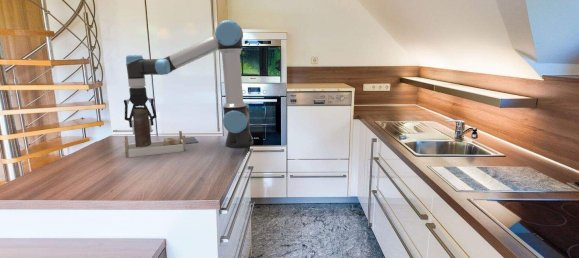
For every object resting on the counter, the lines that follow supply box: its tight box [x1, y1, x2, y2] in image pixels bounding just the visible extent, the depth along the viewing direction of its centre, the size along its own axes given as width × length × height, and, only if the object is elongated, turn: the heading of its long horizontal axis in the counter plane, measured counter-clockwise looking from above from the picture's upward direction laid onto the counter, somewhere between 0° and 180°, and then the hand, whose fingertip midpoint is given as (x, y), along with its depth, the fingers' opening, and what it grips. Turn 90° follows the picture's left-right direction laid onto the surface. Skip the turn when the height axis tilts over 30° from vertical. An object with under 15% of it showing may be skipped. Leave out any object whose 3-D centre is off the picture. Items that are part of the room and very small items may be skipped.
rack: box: [124, 130, 187, 158], centre depth 170 cm, size 28×13×8 cm, turn 116°
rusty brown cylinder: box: [132, 106, 152, 147], centre depth 165 cm, size 8×7×20 cm
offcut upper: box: [163, 136, 179, 146], centre depth 173 cm, size 6×7×3 cm
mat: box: [176, 136, 199, 145], centre depth 190 cm, size 14×14×1 cm
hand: (142, 132), depth 166 cm, fingers closed on rusty brown cylinder, 7 cm apart
